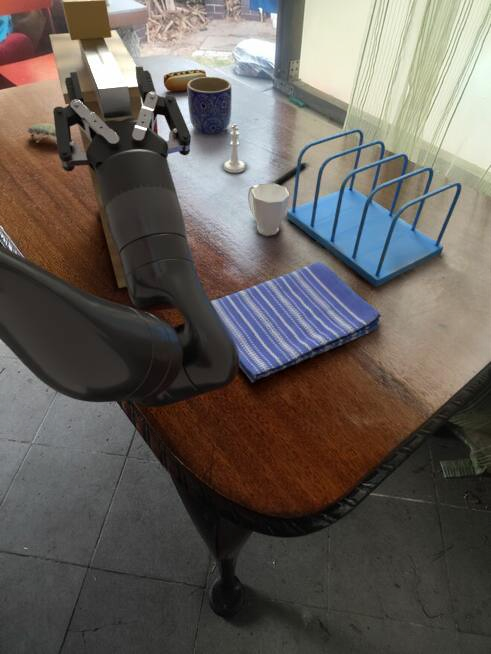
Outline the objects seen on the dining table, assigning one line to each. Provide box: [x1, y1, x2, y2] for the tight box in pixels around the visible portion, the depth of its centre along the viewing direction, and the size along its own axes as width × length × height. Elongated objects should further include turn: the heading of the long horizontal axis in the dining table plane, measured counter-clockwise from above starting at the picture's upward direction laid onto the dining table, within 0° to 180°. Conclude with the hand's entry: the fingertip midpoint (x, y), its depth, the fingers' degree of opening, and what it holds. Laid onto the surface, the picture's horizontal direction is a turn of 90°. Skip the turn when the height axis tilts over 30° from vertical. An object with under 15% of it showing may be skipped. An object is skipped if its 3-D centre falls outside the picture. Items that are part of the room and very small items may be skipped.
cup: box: [247, 182, 291, 237], centre depth 86 cm, size 7×10×8 cm
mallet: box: [60, 0, 132, 119], centre depth 53 cm, size 22×5×7 cm, turn 20°
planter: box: [186, 76, 233, 136], centre depth 115 cm, size 11×11×11 cm
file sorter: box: [286, 128, 462, 288], centre depth 82 cm, size 25×17×15 cm
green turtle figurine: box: [27, 122, 57, 145], centre depth 110 cm, size 9×11×5 cm
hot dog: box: [163, 69, 207, 93], centre depth 136 cm, size 5×13×5 cm, turn 115°
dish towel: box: [210, 261, 382, 383], centre depth 71 cm, size 17×24×3 cm
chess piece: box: [223, 123, 246, 174], centre depth 102 cm, size 5×5×10 cm
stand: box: [48, 29, 142, 289], centre depth 73 cm, size 25×10×31 cm, turn 20°
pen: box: [272, 162, 307, 185], centre depth 102 cm, size 1×16×1 cm, turn 142°
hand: (106, 74), depth 50 cm, fingers open, 6 cm apart
